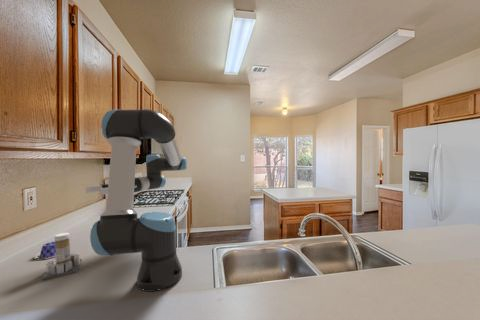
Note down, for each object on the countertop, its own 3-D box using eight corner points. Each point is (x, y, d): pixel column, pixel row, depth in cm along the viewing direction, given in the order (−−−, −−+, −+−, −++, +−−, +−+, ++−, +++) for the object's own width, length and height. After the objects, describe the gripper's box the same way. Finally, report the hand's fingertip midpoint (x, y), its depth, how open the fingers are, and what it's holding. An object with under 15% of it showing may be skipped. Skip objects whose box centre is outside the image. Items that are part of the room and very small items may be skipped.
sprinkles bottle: (67, 263, 87) (65, 231, 87) (73, 265, 85) (72, 232, 85) (53, 269, 83) (52, 235, 83) (60, 271, 81) (58, 236, 81)
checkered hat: (30, 256, 98) (30, 245, 98) (63, 247, 108) (62, 236, 107) (37, 263, 91) (36, 251, 91) (71, 252, 101) (70, 241, 100)
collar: (76, 272, 82) (76, 261, 82) (43, 279, 78) (42, 269, 78) (81, 261, 91) (81, 251, 91) (51, 267, 86) (51, 257, 86)
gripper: (153, 193, 105) (108, 201, 87) (125, 190, 118) (81, 197, 100) (152, 178, 105) (107, 183, 87) (124, 176, 118) (80, 181, 100)
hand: (93, 190), depth 93 cm, fingers open, 13 cm apart
